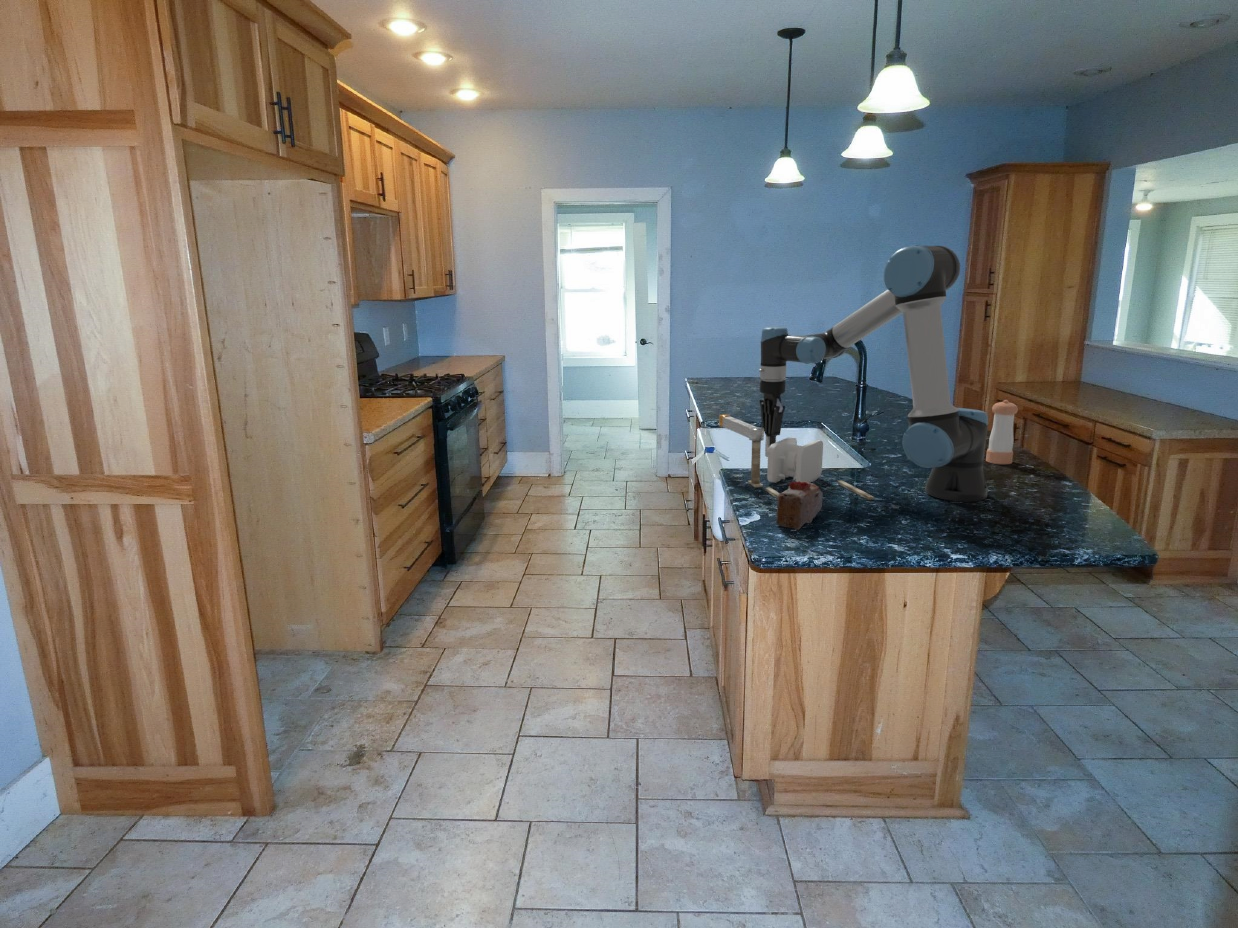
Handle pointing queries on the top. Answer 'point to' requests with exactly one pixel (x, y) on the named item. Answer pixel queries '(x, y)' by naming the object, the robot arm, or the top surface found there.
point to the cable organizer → (794, 460)
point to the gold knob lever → (741, 428)
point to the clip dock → (756, 483)
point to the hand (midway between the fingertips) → (770, 456)
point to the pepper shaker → (1002, 433)
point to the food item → (798, 504)
